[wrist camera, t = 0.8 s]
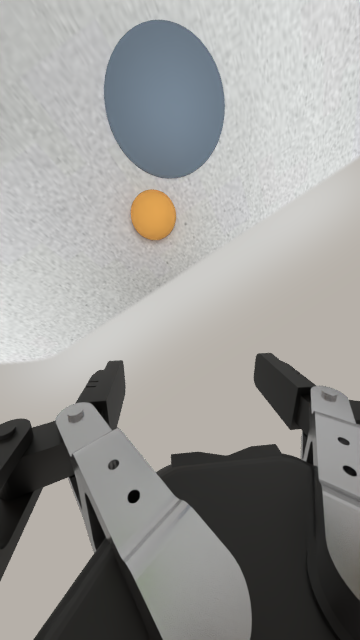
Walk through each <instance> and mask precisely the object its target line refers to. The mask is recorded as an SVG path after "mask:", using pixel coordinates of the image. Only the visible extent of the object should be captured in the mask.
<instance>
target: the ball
mask: <svg viewBox="0 0 360 640" xmlns="http://www.w3.org/2000/svg"><path fill="white" fill-rule="evenodd" d="M131 219H132V223H133V225H134V227H135V229H136V230H137V232H138V233H139V234H140V235H142V236H143V237H145V238H147V239H150V240H160V239H163V238H165V237H166V236H167V235H169V234H170V232H171V231H172V230H173V228H174V225H175V221H176V211H175V207H174V205H173V203H172V201H171V200H170V198H169V197H168V196H167V195H166V194H164V193H163V192H161V191H158V190H146V191H144V192H142V193H140V194H139V195H138V196H137V197H136V198H135V200H134V201H133V204H132V207H131Z"/></svg>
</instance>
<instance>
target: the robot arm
mask: <svg viewBox="0 0 360 640" xmlns="http://www.w3.org/2000/svg"><path fill="white" fill-rule="evenodd" d="M124 377H125V376H124V365H123V361H121V360H120V361H109V362H108V363H107V366H106V368H105V369H104V370H99V371H97V372H96V373H95V374H93V375H92V377H91V378H90V380H89V382H88V383H87V385H86V387H85V388H84V390H83V392H82V393H81V395H80V397H79V398H78V400H77V402H76V403H75V404H73V405H70V406H68V407H67V408H65V409H63V410H62V411H61V412H60V413H59V414H58V415H57V417H56V420H55V421H53V422H50V423H47V424H43V425H40V426H36V427H33V428H32V427H31V424H30V421H29V420H27V419H15V420H11V421H8V422H5V423H3V424H1V425H0V581H1V578H2V576H3V574H4V572H5V570H6V567H7V565H8V563H9V561H10V559H11V557H12V554H13V552H14V550H15V548H16V546H17V543H18V541H19V539H20V537H21V535H22V532H23V530H24V528H25V526H26V524H27V522H28V519H29V517H30V515H31V513H32V511H33V508H34V506H35V504H36V502H37V500H38V497H39V495H40V493H41V491H42V489H43V487H45V486H47V485H50V484H52V483H54V482H57V481H60V480H62V479H65V478H67V477H68V480H69V483H70V485H71V488H72V490H73V493H74V496H75V498H76V501H77V504H78V506H79V509H80V511H81V514H82V517H83V519H84V522H85V526H86V530H87V533H88V536H89V540H90V542H91V546H92V548H93V551H94V555H93V556H92V558H91V559H90V560H89V562H88V563H87V565H86V566H85V568H84V569H83V570H82V572H81V573H80V575H79V576H78V577H77V579H76V580H75V582H74V583H73V584H72V586H71V587H70V589H69V590H68V591H67V593H66V594H65V596H64V597H63V599H62V600H61V602H60V603H59V604H58V606H57V607H56V609H55V610H54V611H53V613H52V614H51V616H50V617H49V619H48V620H47V621H46V623H45V624H44V625H43V627H42V628H41V630H40V631H39V632H38V634H37V635H36V637H35V638H34V640H360V401H353V400H348V398H347V397H346V396H345V395H344V394H343V393H341V392H340V391H338V390H335V389H333V388H330V387H326V386H316V385H315V384H313V383H312V382H311V381H309V380H308V379H307V378H306V377H304V376H303V375H302V374H300V373H299V372H298V371H297V370H295V369H294V368H293V367H292V366H290V365H289V364H287V363H285V362H283V361H280V360H279V359H278V358H277V357H275V356H274V355H273V354H272V353H261V354H257V356H256V362H255V371H254V382H255V385H256V387H257V388H258V390H259V391H260V392H261V393H262V395H263V396H264V397H265V398H266V400H267V401H268V402H269V404H271V406H272V407H273V409H274V410H275V411H276V412H277V413H278V415H279V416H280V417H281V419H282V420H283V421H284V422H285V424H286V425H287V426H288V427H289V429H290V430H294V429H302V436H301V459H299V458H297V457H294V456H290V455H286V454H282V453H281V452H280V450H279V449H278V447H277V446H276V444H272V445H261V446H251V447H248V448H246V449H243V450H241V451H238V452H236V453H233V454H231V455H228V456H224V455H217V454H210V453H203V452H192V453H181V454H172V455H171V465H169V466H166V467H164V468H162V469H161V470H159V471H158V472H155V471H154V470H153V469H152V467H151V466H150V465H149V464H148V462H147V461H146V460H145V459H144V458H143V456H142V455H141V454H140V453H139V451H138V450H137V449H136V448H135V446H134V445H133V444H132V443H131V442H130V440H129V439H128V438H127V437H126V436H125V434H124V433H123V432H122V431H121V429H119V428H117V424H118V420H119V416H120V412H121V408H122V404H123V400H124V396H125V378H124Z"/></svg>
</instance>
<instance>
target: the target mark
mask: <svg viewBox="0 0 360 640" xmlns="http://www.w3.org/2000/svg"><path fill="white" fill-rule="evenodd" d="M104 99H105V108H106V113H107V117H108V121H109V124H110V127H111V130H112V132H113V134H114V137H115V139H116V141H117V142H118V144H119V146H120V147H121V149H122V150H123V152H124V153H125V154H126V155H127V157H128V158H129V159H130V160H131V161H132V162H133V163H134V164H136V165H137V166H138V167H139V168H141V169H142V170H144V171H145V172H147V173H149V174H152V175H155V176H158V177H162V178H178V177H182V176H185V175H188V174H190V173H192V172H194V171H195V170H197V169H198V168H199V167H200V166H202V165H203V164H204V163H205V162H206V160H207V159H208V158H209V157H210V155H211V154H212V152H213V150H214V149H215V147H216V145H217V143H218V140H219V137H220V134H221V131H222V126H223V120H224V108H225V104H224V92H223V86H222V82H221V78H220V74H219V72H218V69H217V66H216V64H215V62H214V60H213V58H212V56H211V54H210V53H209V51H208V50H207V48H206V47H205V46H204V44H203V43H202V42H201V41H200V39H198V38H197V37H196V36H195V35H194V34H193V33H192V32H191V31H189V30H188V29H186V28H185V27H183V26H181V25H179V24H177V23H174V22H170V21H165V20H151V21H147V22H143V23H141V24H139V25H137V26H135V27H133V28H132V29H131V30H129V31H128V32H127V33H126V34H125V35H124V36H123V37H122V38H121V39H120V41H119V42H118V44H117V45H116V47H115V49H114V51H113V53H112V55H111V57H110V60H109V63H108V66H107V70H106V75H105V84H104Z"/></svg>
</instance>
